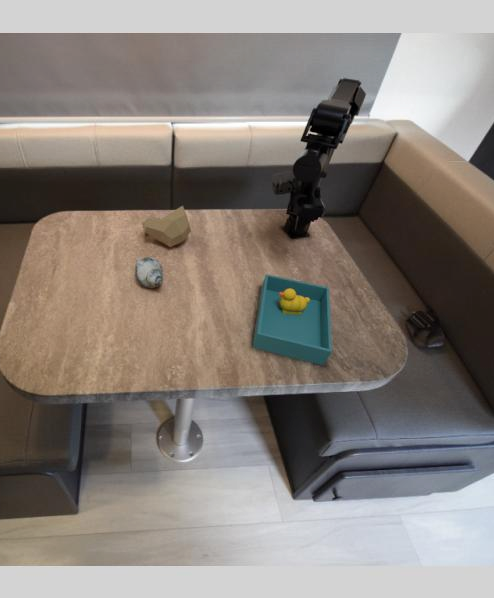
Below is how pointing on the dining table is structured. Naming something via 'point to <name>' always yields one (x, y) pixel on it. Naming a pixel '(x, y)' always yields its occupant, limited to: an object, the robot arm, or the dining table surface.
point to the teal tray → (294, 322)
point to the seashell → (148, 272)
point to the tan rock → (168, 227)
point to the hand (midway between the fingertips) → (294, 221)
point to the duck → (292, 302)
